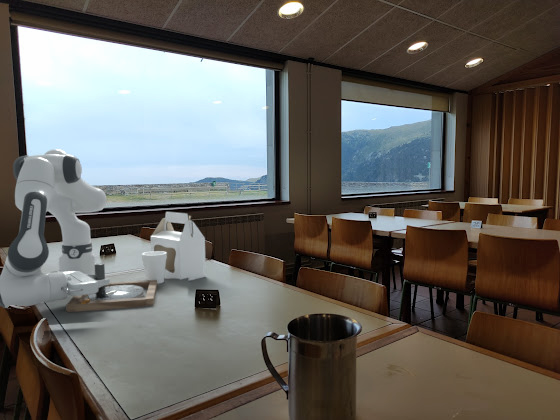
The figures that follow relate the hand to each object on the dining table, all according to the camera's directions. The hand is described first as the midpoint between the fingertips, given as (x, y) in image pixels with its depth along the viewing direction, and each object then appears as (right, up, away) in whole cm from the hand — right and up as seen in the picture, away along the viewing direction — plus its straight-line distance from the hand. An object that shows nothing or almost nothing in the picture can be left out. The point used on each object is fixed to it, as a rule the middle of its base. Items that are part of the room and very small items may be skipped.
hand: (103, 278), depth 137 cm
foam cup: (+9, -7, +28) cm, 30 cm away
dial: (+2, -8, +7) cm, 10 cm away
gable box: (+14, -6, +44) cm, 46 cm away
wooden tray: (+2, -9, +7) cm, 11 cm away
